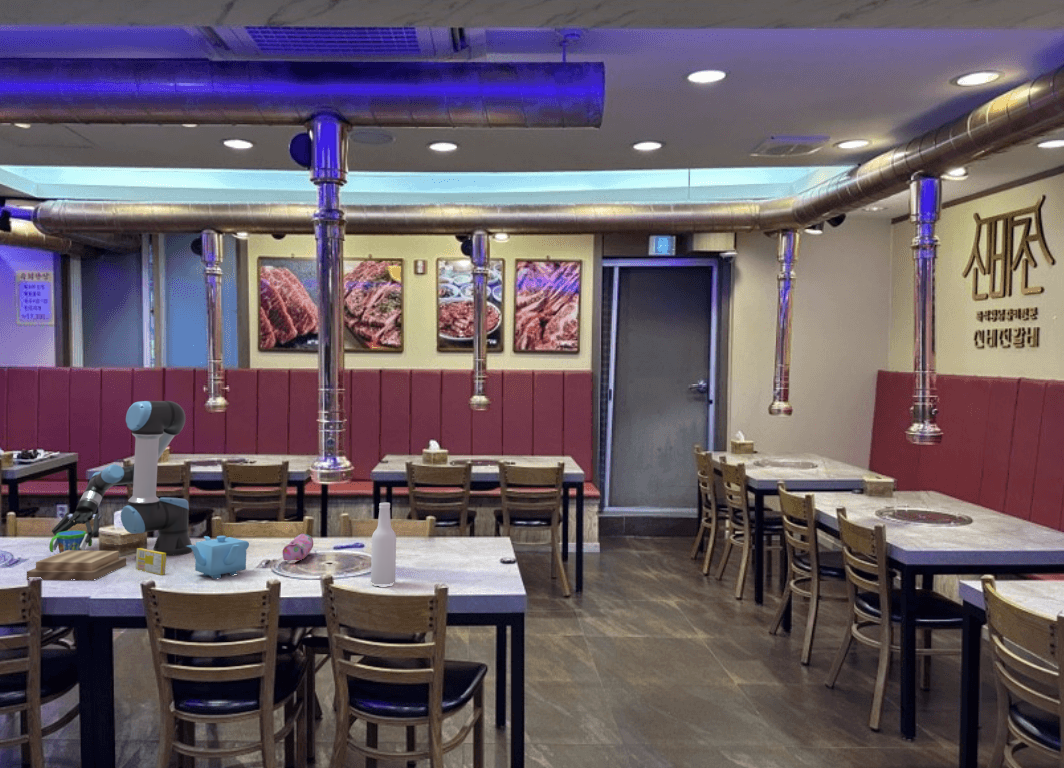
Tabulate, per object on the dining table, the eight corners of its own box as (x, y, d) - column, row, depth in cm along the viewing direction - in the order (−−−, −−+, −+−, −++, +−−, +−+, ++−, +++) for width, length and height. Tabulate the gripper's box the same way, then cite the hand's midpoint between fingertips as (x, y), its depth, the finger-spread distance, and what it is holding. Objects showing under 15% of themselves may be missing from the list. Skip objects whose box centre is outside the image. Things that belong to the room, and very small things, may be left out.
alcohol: (396, 581, 289) (398, 501, 289) (393, 587, 280) (395, 505, 280) (373, 581, 288) (374, 501, 288) (368, 587, 280) (370, 504, 280)
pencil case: (303, 565, 312) (303, 542, 312) (280, 564, 312) (280, 542, 312) (314, 553, 334) (315, 532, 334) (293, 553, 333) (293, 532, 333)
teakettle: (251, 569, 304) (252, 531, 304) (238, 581, 285) (239, 541, 285) (201, 569, 302) (202, 531, 302) (185, 581, 283) (185, 541, 283)
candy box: (166, 574, 293) (166, 552, 293) (160, 575, 291) (161, 553, 291) (140, 568, 301) (140, 547, 301) (135, 569, 299) (135, 548, 299)
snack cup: (87, 552, 326) (87, 528, 326) (96, 556, 319) (96, 532, 318) (45, 558, 314) (45, 533, 314) (53, 563, 307) (53, 537, 307)
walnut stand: (126, 565, 306) (126, 549, 306) (93, 580, 282) (94, 564, 282) (64, 564, 305) (64, 549, 305) (26, 579, 281) (26, 563, 281)
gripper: (119, 510, 332) (99, 554, 317) (64, 509, 332) (42, 553, 316) (113, 499, 327) (92, 544, 311) (57, 498, 326) (34, 543, 311)
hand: (67, 548), depth 314 cm, fingers closed on snack cup, 11 cm apart
